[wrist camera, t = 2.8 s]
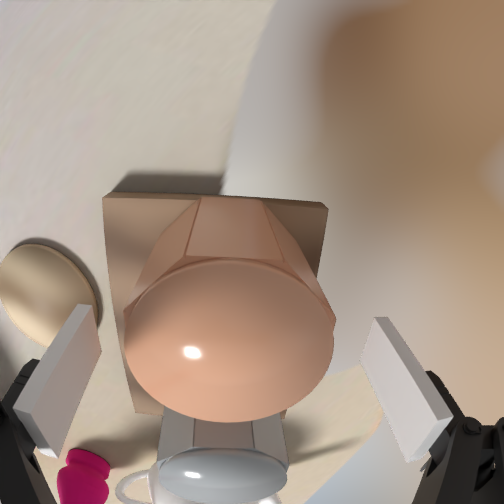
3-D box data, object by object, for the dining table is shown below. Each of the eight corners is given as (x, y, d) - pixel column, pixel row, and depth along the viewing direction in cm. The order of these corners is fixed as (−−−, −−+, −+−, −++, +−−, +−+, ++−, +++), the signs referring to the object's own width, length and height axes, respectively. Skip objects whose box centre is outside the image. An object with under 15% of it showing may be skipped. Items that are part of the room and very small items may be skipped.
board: (110, 191, 20) (102, 197, 18) (321, 202, 21) (328, 209, 20) (138, 400, 28) (135, 412, 26) (282, 406, 29) (284, 418, 27)
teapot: (124, 471, 34) (113, 535, 24) (122, 420, 29) (104, 505, 19) (275, 489, 38) (284, 550, 28) (313, 445, 33) (332, 521, 23)
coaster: (-9, 241, 20) (-13, 244, 19) (88, 246, 21) (85, 249, 20) (18, 338, 24) (15, 342, 23) (107, 353, 25) (105, 358, 24)
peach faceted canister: (159, 194, 18) (111, 258, 10) (301, 202, 19) (355, 270, 11) (163, 315, 22) (139, 416, 14) (284, 319, 23) (311, 419, 14)
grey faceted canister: (166, 352, 23) (149, 450, 15) (278, 356, 24) (298, 453, 16) (174, 418, 27) (166, 501, 18) (265, 420, 27) (277, 503, 19)
